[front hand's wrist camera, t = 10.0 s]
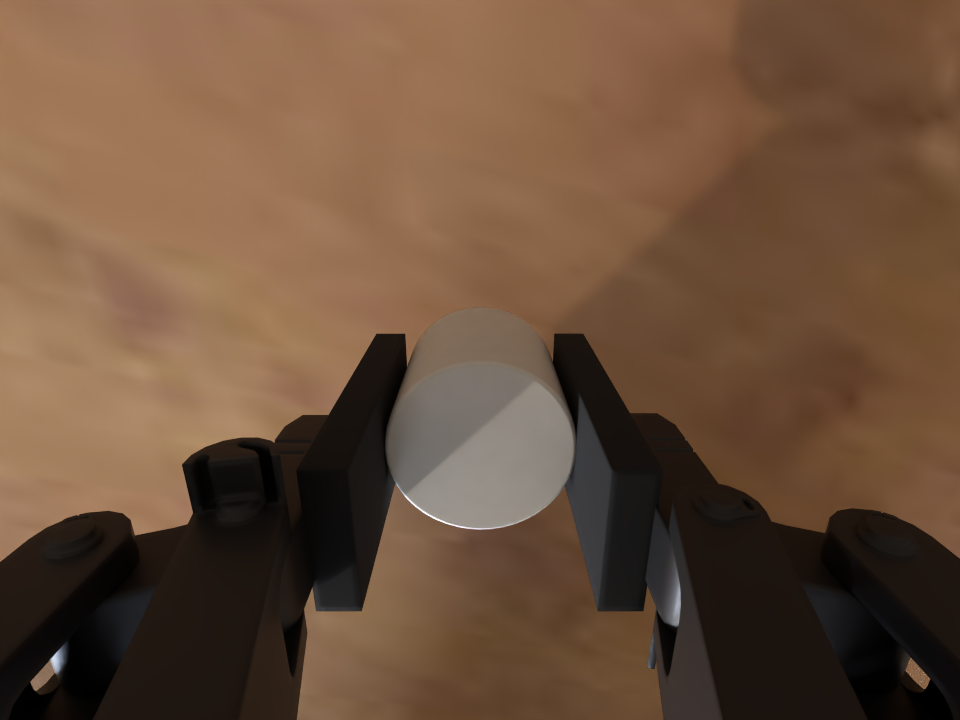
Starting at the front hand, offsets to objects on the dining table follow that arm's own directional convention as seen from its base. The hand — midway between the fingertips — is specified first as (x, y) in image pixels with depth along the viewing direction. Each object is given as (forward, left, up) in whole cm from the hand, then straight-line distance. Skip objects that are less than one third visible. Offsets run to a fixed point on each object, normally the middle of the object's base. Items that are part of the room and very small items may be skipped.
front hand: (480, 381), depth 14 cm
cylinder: (0, 0, 0) cm, 0 cm away
